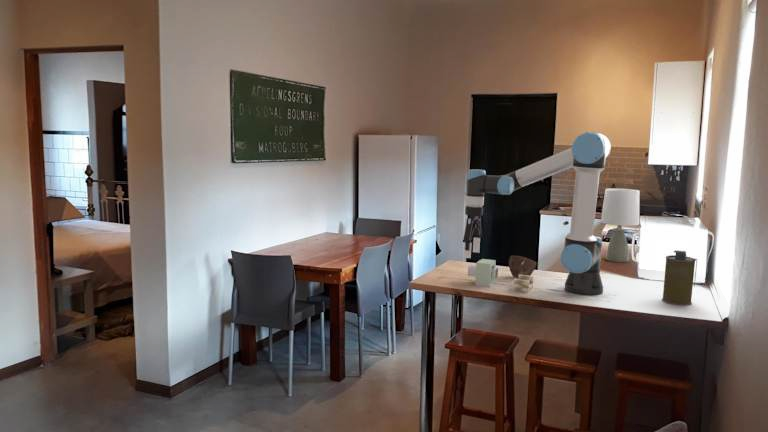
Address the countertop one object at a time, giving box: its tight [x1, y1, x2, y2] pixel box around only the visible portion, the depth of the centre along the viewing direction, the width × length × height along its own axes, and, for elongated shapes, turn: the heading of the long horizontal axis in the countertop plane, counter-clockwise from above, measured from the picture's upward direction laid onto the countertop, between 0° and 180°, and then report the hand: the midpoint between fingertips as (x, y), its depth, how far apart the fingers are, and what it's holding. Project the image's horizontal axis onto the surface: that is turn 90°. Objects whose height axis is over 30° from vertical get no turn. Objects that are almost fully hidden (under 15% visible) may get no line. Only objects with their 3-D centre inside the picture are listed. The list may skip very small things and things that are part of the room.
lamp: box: [600, 187, 640, 263], centre depth 309 cm, size 19×19×37 cm
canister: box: [661, 250, 698, 306], centre depth 231 cm, size 11×10×20 cm
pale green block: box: [475, 258, 497, 288], centre depth 254 cm, size 6×9×10 cm, turn 156°
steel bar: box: [467, 264, 499, 280], centre depth 254 cm, size 12×4×4 cm, turn 66°
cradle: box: [513, 274, 534, 293], centre depth 247 cm, size 6×11×4 cm, turn 156°
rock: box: [507, 255, 538, 279], centre depth 265 cm, size 12×10×10 cm
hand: (471, 255), depth 255 cm, fingers open, 13 cm apart
